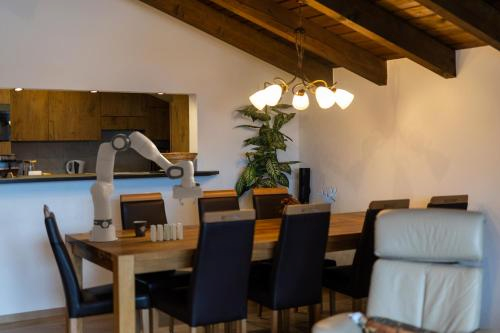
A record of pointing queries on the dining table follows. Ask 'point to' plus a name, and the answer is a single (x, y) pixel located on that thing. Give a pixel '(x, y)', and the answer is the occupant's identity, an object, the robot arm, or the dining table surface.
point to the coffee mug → (140, 228)
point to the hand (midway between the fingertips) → (188, 205)
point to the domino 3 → (166, 232)
